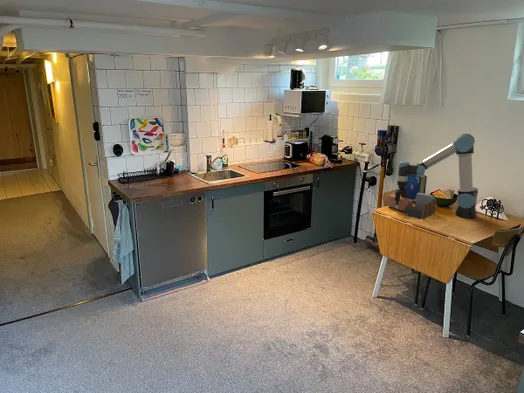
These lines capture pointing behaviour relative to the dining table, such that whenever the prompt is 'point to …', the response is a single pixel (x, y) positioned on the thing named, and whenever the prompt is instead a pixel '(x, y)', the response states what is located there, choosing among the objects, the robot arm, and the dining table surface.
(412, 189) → the book
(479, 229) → the dining table surface
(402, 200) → the book box
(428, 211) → the shelf wall
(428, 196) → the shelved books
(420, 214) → the bookend
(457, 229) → the dining table surface
